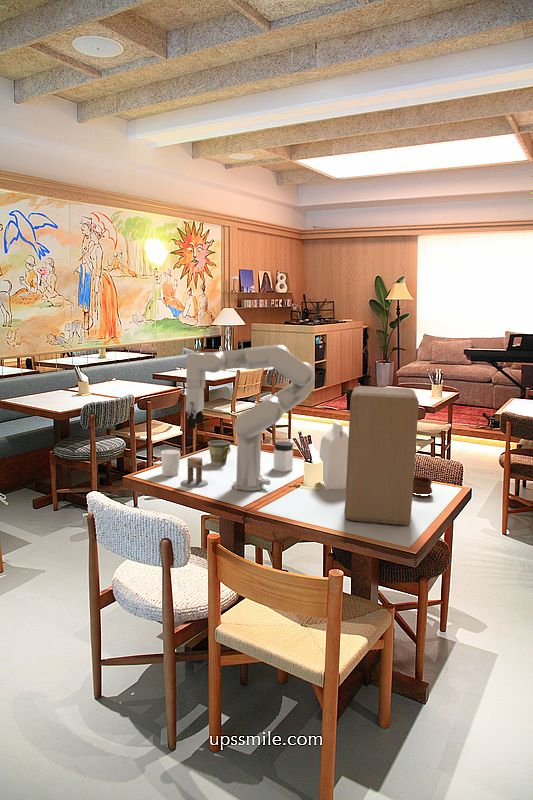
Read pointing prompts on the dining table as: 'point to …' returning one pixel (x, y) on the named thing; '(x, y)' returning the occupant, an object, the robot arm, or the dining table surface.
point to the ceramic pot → (422, 487)
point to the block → (381, 454)
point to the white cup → (170, 462)
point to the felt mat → (194, 483)
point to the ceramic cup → (219, 451)
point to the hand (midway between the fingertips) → (195, 425)
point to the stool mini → (196, 463)
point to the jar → (283, 456)
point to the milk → (334, 457)
